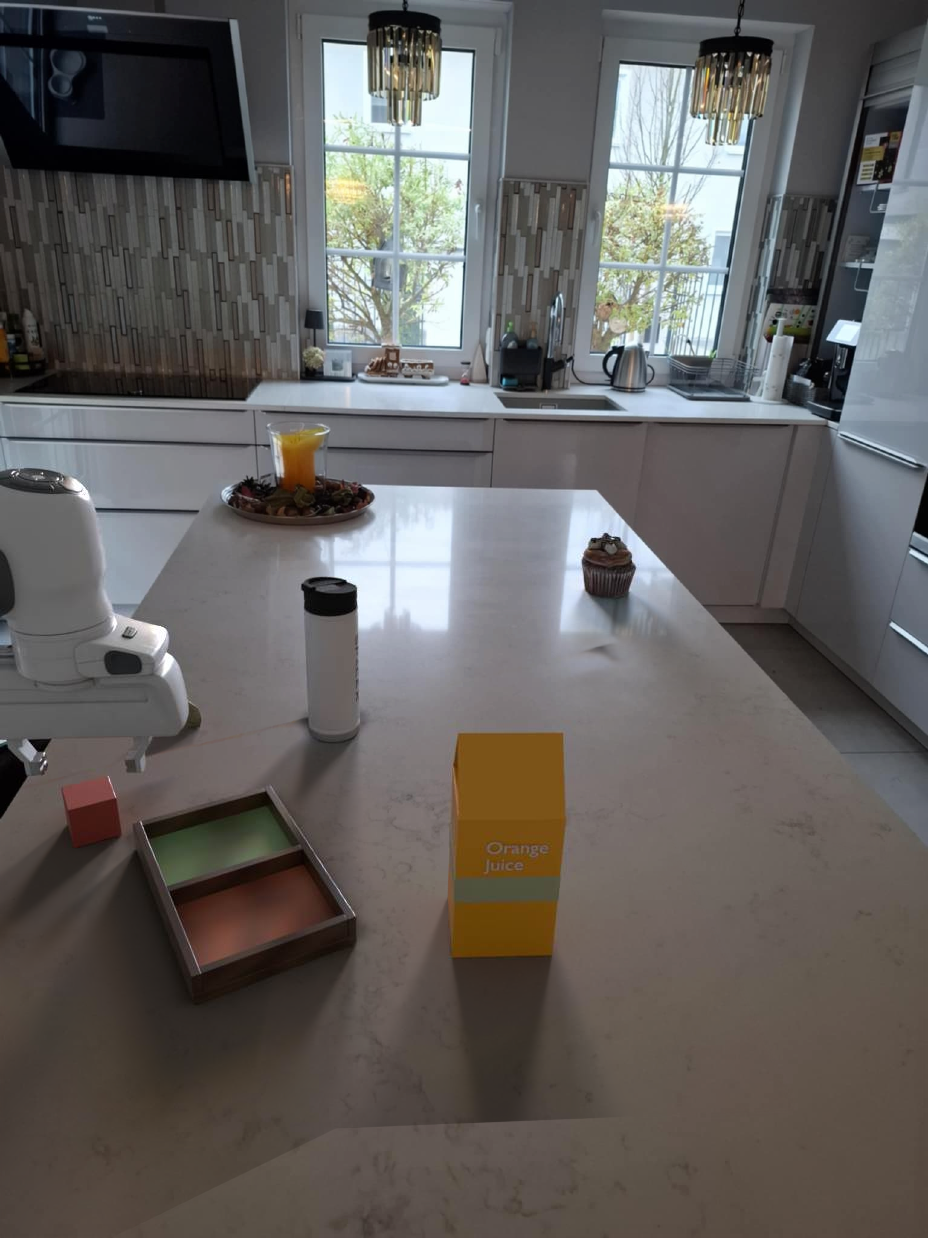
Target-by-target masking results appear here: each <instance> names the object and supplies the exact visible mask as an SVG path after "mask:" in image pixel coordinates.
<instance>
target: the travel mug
mask: <svg viewBox="0 0 928 1238" xmlns="http://www.w3.org/2000/svg"><path fill="white" fill-rule="evenodd" d="M300 590H301V591H302V592H303V624H304V625H303V626H304V646H305V647H304V648H305V669H306V672H305V673H306V693H307V694H306V695H307V718H308V732H309V734H310V735H311V737H313V738H314V739H315V740H318V741H320V742H325V743H340V742H341V743H342V742H346V741H348V740H350V739H352V738H355V736H357V734H358V733H359V731H360V728H361V724H360V723H361V722H360V721H361V720H360V717H361V715H360V660H359V659H360V652H359V650H360V649H359V647H360V646H359V605H358V587H357V585H356V584H353V583H351V582H348V581H347V579H344V578H342V577H334V576H314V577H309V578H306V579H305V580H303V582H302V583H301V584H300Z"/></svg>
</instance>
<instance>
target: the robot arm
mask: <svg viewBox="0 0 928 1238" xmlns="http://www.w3.org/2000/svg"><path fill="white" fill-rule="evenodd" d="M101 530H102V529H101V526H100V522H99V518H98V514H97V510H96V508H95V504H94V501H93V499H92V497H91V495H90V493H89V491H88V490H87V488H86V487H85V485H83V483H82V482H80V481H78V480H77V479H75V478H73V477H72V476H69V475H67V474H65V473H63V472H59V471H56V470H51V469H45V468H39V467H38V468H36V467H24V468H9V469H4V470H1V471H0V618H1V617H3V618H5V620H6V623H7V628H8V634H9V637H10V642H11V643H10V644H0V741H6V745H7V748H8V750H9V751H11V752H12V754H13V755H14V756H16V757H17V758H18V760H19V761H20V762H22V763H23V766H24V770H25V775H26V776H27V777H29V776H30V777H32V776H34V777H35V776H44V775H45V772H47V770H48V769H49V768H48V767H49V762H48V760H47V753H46V751H38V750H36V748H35V747H34V746H33V745H32V744H31V742H30V741H29V740H55V739H56V740H57V739H58V740H60V739H61V740H62V739H63V740H64V739H103V738H104V739H105V738H109V739H111V738H133V744H134V745H135V746H138V748H137V749H128V751H127V755H126V756H125V758H124V764H125V766H126V768H125V772H126V774H142V773H144V772H145V771H144V770H145V769H146V766H147V761H146V760H147V759H146V751H147V749H148V747H149V746H150V743H151V741H152V739H153V737H175V736H177V735H179V733H180V731H181V730H182V728H183V727H184V725H185V723H186V721H187V718H188V713H189V707H188V701H189V699H188V694H187V688H186V685H185V680H184V676H183V674H182V669H181V667H180V665H179V663H178V662H177V660H176V659H175V657H174V656H173V655H171V654H170V653H168V652H167V651H168V648H169V643H170V636H169V632H168V629H166V628H164V627H162V626H160V625H156V624H152V623H149V622H145V621H141V620H137V619H133V618H131V617H128V616H124V615H121V614H118V613H115V612H114V608H113V607H114V606H113V603H112V601H111V599H110V597H109V595H108V592H107V589H106V574H107V566H108V565H107V558H106V550H105V546H104V541H103V540H104V539H103V535H102V531H101ZM181 732H182V731H181Z"/></svg>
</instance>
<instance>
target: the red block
mask: <svg viewBox="0 0 928 1238" xmlns="http://www.w3.org/2000/svg"><path fill="white" fill-rule="evenodd" d="M60 788H61V789H60V790H61V794H62V800H63V806H64V807H63V808H64V812H65V817H66V823H67V827H68V830H69V834H70V838H71V842H72V846H73V848H74V849H75V848H79V847H83V846H87V845H90V844H94V843H98V842H100V841H105V840H108V839H112V838H115V837H119V836H122V835H123V831H122V826H121V825H122V824H121V818H120V812H119V805H118V798H117V795H116V793H115V790H114V787H113V784H112V782H111V779H110V776H109V775H105V776H101V777H96V778H93V779H88V780H84V781H80V782H77V783H71V784H67V785H64V786H61V787H60Z"/></svg>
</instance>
